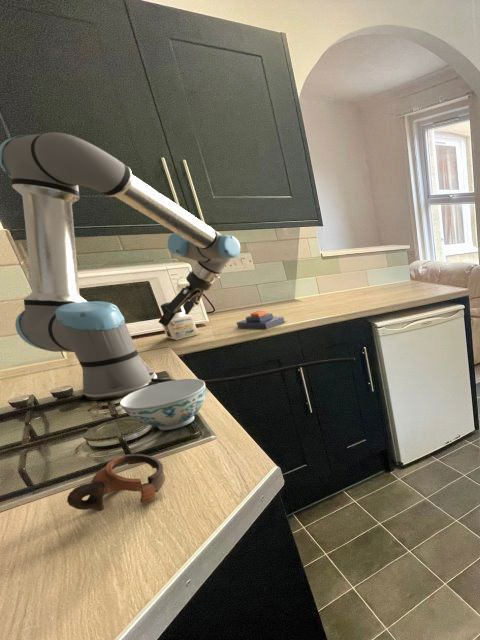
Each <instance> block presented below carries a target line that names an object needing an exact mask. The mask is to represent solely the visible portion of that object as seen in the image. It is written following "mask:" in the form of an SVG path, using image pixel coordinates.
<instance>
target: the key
mask: <svg viewBox="0 0 480 640" xmlns="http://www.w3.org/2000/svg"><path fill="white" fill-rule="evenodd" d="M266 313H267V311H266V310H256V311H253V312H251V313H250V316H251V317H261V316H264V315H267V314H266Z"/></svg>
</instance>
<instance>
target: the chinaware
mask: <svg viewBox="0 0 480 640" xmlns="http://www.w3.org/2000/svg"><path fill="white" fill-rule="evenodd" d="M206 391H207V388H206V384H205V382H204V380H202V379H199V378H181V379H175V380H172V381H167V382H157V383H156V384H154V385H151V386H148V387H145V388H142V389H139V390H137V391H135V392H132V393H130V394H129V395H127V396H123V397H122V399H121V400H120V402H119V405H120V406H121V408H122V409H123V410H124V412H125V413H126V414H128V416H130V417H131V418H133V419H134V420H136V421H137V422H140V423H142V424H145V425H147V426H154V427H157V428H158V429H159V430H161V431H169V430H174V429H178V428H179V429H180V428H182V427H184V426H187V425H189V424H191V423H192V422H194V420H195V415H196V414H197V413H198V412H199V411H200V410H201V409H202V407H203V405H204V403H205V400H206V396H207V395H206V394H207V392H206Z"/></svg>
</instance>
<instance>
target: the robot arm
mask: <svg viewBox="0 0 480 640" xmlns="http://www.w3.org/2000/svg"><path fill="white" fill-rule="evenodd" d="M0 168H1V169H2V171H3V172H5V173H6V174H7V176H8V177H9V178H10V179H11V187H12V189H14V190H15V191H16V192H17V193H18V194H20V196H22V197H21V198H22V206H23V216H24V226H25V236H26V245H27V246H26V247H27V256H28V265H29V274H30V285H31V292H30V294H28V295H27V296H25V297H24V298H23V306H24V309H23V310H22V311H21V312H20V313H19V314H18V315H17V316H16V319H15V324H14V325H15V326H14V327H15V331H16V332H17V335H19V337H20V338H21V340H23V341H24V343H27V344H28V345H30V346H32V347H34V348H36V349H40V350H43V351H47V352H52V353H53V352H54V353H57V352H58V353H59V352H67V353H74V354H75V356H76V358H77V361H78V362H79V364H80V366H81V370H82V391H83V394H84V396H85V398H86V399H87V400H90V401H105V400H113V399H117V398H118V399H119V398H124V397H125V396H127V395H129V394H130V393H132V392H135V391H137V390H139V389H142V388H145V387H148V386H151V385H154V384H158V383H162V382H167V381H172V380H176V378H175V379H172V378H158V376H157V374H156V373H155V371H154V370H153V369H152V368H151V367H150V366H149V365H148V364H147V362H145V361H144V359H142V358H141V356H140V355H139V352H138V349H137V348H136V345H135V343H134V339H133V338H132V336H131V333H130V331H129V329H128V326H127V324H126V320H125V316H123V314H122V313H121V310H120V309H119V307H118V306H117V305H116V304H114V303H111V302H108V301H101V300H100V301H99V300H96V301H95V300H93V301H87V300H86V299H84V298H83V297H82V296H81V294H80V284H79V271H78V261H77V249H76V237H75V227H74V214H73V213H74V212H73V204H74V203H76V202H77V201H79V200H80V189H79V186H83V187H87V188H90V189H92V190H95V191H97V192H99V193H101V194H102V195H104V196H105V197H108V198H109V197H110V198H111V197H115V198H117V199H118V200H119V201H121V202H123V203H125V204H126V205H128V206H130V207H131V208H133V209H135V210H137V211H138V212H139V213H141V214H143V215H145V216H146V217H148V218H149V219H152V220H153V221H155V222H156V223H158V224H159V225H161V226H163V227H164V228H166V229H168V230H169V231H171V232H173V233H171V234H170V235H169V236H168V238H167V249H168V250H169V251H170V252H171V254H173V255H175V256H178V257H181V258H186V259H187V260H188V259H189V260H193V261H196V263H195V264H194V265H193V267H192V268H191V270H190V271H189V273H188V275H187V276H186V277H185V278H186V279H185V280H186V281H187V283H188V284H189V285H186V286H184V287H182V288H181V290H180V291H179V292H178V293H177V294H176V296H175V297H173V299H172V300H171V301H169V302H170V303H169V302H168V303H169V304H168V306H165V309H166V311H165V313H164V314H163V313H162V316H161V317H160V318H161V319H160V318H159V320H158V323H159V324H161V325H164V326H168V324H169V323H170V321H171V320H172V318H173V317H174V316H175V314H176V311H177V310H178V309H179V308H180V307H181V306H182V305H183V308H184V310H185V314H187V315H190V312H191V311H192V309H193V308H194V307H195V305H196V306H198V305H199V303H200V301H201V299H202V297H203V294H204V292H206V291H209V290H210V289H211V287H212V285H214V282H215V281H216V280H219V279H220V274H221V273H222V272H223V271H224V269H225V268H226V266H227V265H228V263H229V262H230V261H231V260H232V259H236V258H237V257H239V256H240V255H241V244H240V241H239V240H238V239H237V238H236V237H235V236H233V235H230V234H222V233H220V232H218V231H217V230H215V229H214V228H212V227H211V226H209V225H208V224H206V223H205V222H203V221H202V220H200V219H199V218H197V217H195V215H193V214H191V213H190V212H188V211H187V210H185V209H184V208H183V207H181V206H180V205H178V204H176V203H175V202H174V201H172V200H171V199H170V198H168V197H166V196H165V195H163V194H162V193H160V192H159V191H157V190H156V189H154V188H153V187H151V186H150V185H149V184H147V183H146V182H144V181H143V180H141V179H140V178H139V177H137V176H135V175H134V174H133V173H132V170H131V168H130V167H129V166H127V165H126V164H125V163H123V162H122V161H121V160H119V159H117V158H116V157H114V156H113V155H111V154H109V153H108V152H107V151H105V150H103V149H102V148H100V147H98V146H96V145H94V144H92V143H90V142H88V141H87V140H85V139H82V138H80V137H77V136H75V135H72V134H69V133H64V132H55V131H54V132H53V131H52V132H45V133H39V134H38V133H37V134H21V135H20V134H19V135H16V136H13V137H11V138H8V139H6V140H4V141H3V142H2V143H1V144H0ZM344 362H345V363H346V362H356V358H355V357H348V358H347V357H346V358H334V359H326V360H325V359H324V360H318V361H317V360H316V361H311V362H306V363H300V364H295V365H289V366H285V367H279V368H274V369H270V370H265V371H261V372H255V373H251V374H243V375H239V376H232V377H225V378H216V379H208V380H204V379H203V381H204V382H205V385H209V384H220V383H227V382H234V381H241V380H247V379H251V378H258V377H262V376H266V375H272V374H277V373H281V372H285V371H291V370H295V369H301V368H307V367H311V366H317V365H324V364H325V365H326V364H332V363H333V364H334V363H344ZM161 381H162V382H161Z"/></svg>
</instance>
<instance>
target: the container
mask: <svg viewBox="0 0 480 640" xmlns="http://www.w3.org/2000/svg"><path fill="white" fill-rule="evenodd" d="M170 302H171V301H169V302H165V303H162V304H160V309H161V312H162V315H163V314H164V313H165V311H166V309H165V306H168V304H169V303H170ZM183 305H184V304H183ZM183 305H182V306H181V307H180V308H179V309H178V310H177V311H176V314H175V316H174V317H173V318H172V320H171V321H170V323H169V324H168V326H164V325H162V324H161V325H162V328H163V331H164V333H165V336H166V338H168V339H171V340H175V341H178V340H183V339H187V338H190V337H194V336H198V335H199V331H198V328H197V326H196V323H195V320H194V318H193V315H191V314H188V315H187V314H185V310H184V308H183ZM160 319H161V317H160V318H159V320H160Z"/></svg>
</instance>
